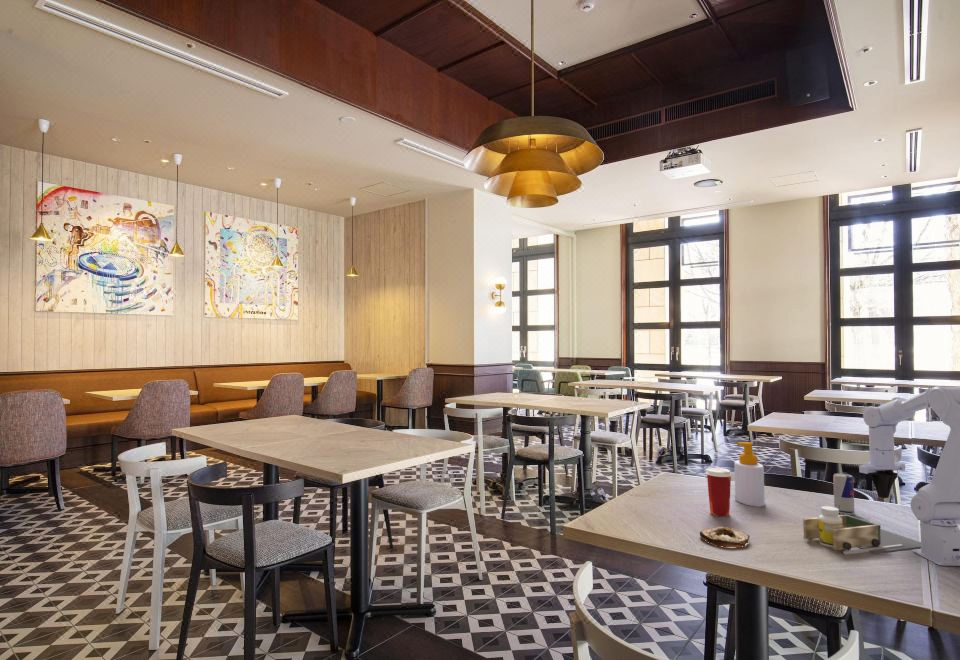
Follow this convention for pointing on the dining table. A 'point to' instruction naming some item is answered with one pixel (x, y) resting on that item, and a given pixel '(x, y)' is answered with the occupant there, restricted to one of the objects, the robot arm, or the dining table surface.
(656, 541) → the dining table surface
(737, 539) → the ring pastry
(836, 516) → the supplement bottle
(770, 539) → the dining table surface
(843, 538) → the cart
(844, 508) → the energy drink
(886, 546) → the track
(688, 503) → the dining table surface
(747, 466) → the soap bottle
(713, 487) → the paper cup
